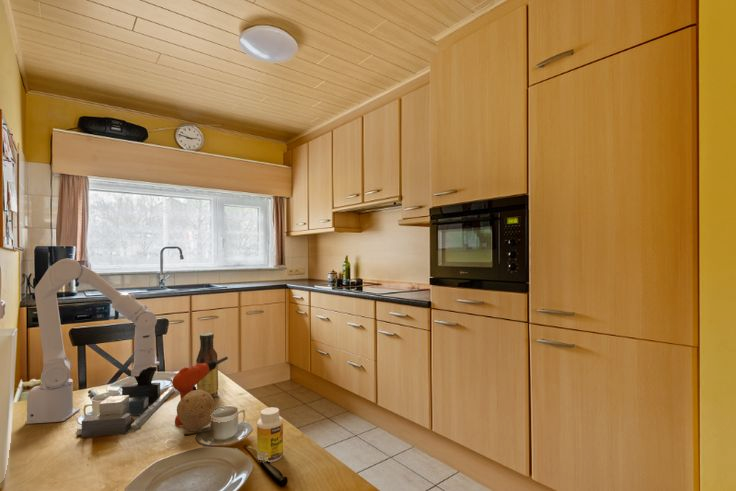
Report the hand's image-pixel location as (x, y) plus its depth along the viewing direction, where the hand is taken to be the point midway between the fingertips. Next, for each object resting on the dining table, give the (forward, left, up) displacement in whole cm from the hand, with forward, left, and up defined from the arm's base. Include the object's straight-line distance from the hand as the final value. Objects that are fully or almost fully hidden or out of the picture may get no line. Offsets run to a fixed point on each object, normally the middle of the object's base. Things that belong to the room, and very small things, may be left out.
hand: (144, 392), depth 120 cm
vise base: (0, -10, -2) cm, 10 cm away
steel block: (0, -19, -2) cm, 19 cm away
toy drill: (+21, -15, -2) cm, 26 cm away
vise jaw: (0, -8, -2) cm, 8 cm away
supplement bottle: (+42, -42, -2) cm, 60 cm away
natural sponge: (+22, -25, -2) cm, 33 cm away
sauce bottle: (+19, -2, -2) cm, 19 cm away
